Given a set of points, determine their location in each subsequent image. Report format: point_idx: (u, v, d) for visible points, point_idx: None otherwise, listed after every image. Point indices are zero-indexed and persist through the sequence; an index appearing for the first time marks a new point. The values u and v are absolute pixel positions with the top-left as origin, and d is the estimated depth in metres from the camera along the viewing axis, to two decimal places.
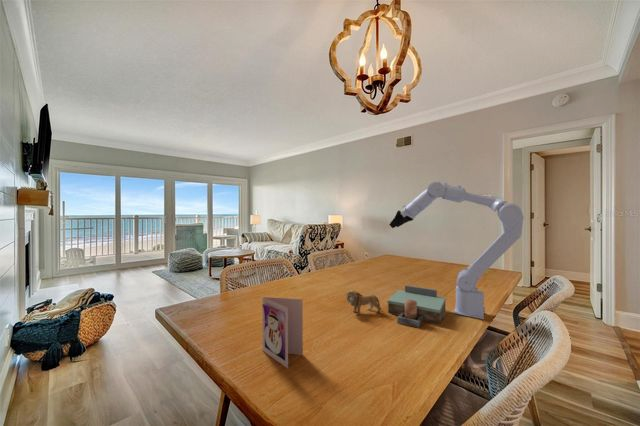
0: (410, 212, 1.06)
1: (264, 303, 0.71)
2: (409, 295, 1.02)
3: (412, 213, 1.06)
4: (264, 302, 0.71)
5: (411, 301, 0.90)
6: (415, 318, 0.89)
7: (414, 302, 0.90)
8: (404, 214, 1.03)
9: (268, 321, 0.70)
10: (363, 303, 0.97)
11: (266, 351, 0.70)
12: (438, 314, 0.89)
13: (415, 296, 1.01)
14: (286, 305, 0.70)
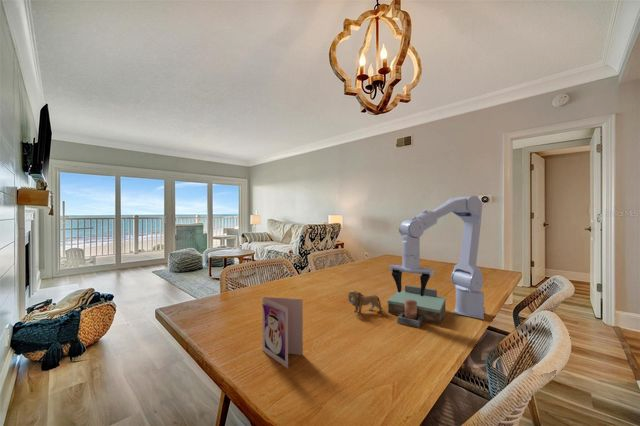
0: (419, 266, 0.89)
1: (264, 303, 0.71)
2: (409, 295, 1.02)
3: None
4: (264, 302, 0.71)
5: (411, 301, 0.91)
6: (415, 318, 0.89)
7: (414, 302, 0.90)
8: (433, 272, 0.87)
9: (268, 321, 0.70)
10: (364, 303, 0.97)
11: (266, 351, 0.70)
12: (438, 314, 0.89)
13: (415, 296, 1.01)
14: (286, 305, 0.70)
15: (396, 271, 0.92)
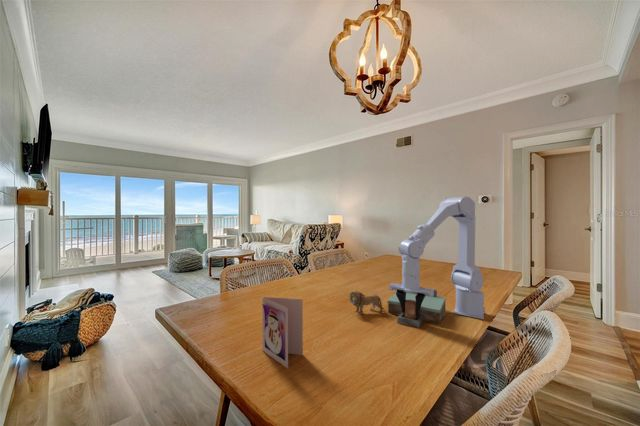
0: (419, 286, 0.89)
1: (264, 303, 0.71)
2: (409, 295, 1.02)
3: None
4: (264, 302, 0.71)
5: (411, 301, 0.90)
6: (415, 318, 0.89)
7: (414, 302, 0.90)
8: (433, 293, 0.87)
9: (268, 321, 0.70)
10: (365, 303, 0.97)
11: (266, 351, 0.70)
12: (438, 314, 0.89)
13: None
14: (286, 305, 0.70)
15: None
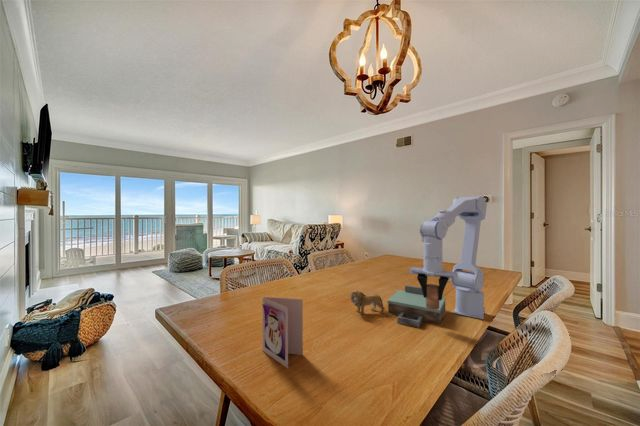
0: None
1: (264, 303, 0.71)
2: (409, 295, 1.02)
3: None
4: (264, 302, 0.71)
5: (433, 285, 0.86)
6: (438, 303, 0.84)
7: (436, 286, 0.85)
8: (457, 276, 0.82)
9: (268, 321, 0.70)
10: (367, 303, 0.97)
11: (266, 351, 0.70)
12: (438, 314, 0.89)
13: (415, 296, 1.01)
14: (286, 305, 0.70)
15: None
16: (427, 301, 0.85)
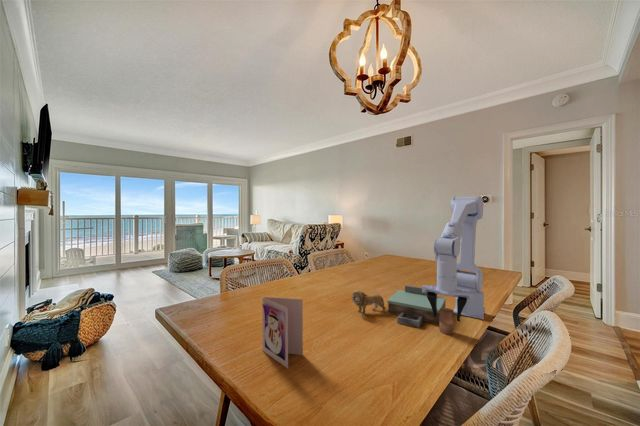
0: (456, 288, 0.82)
1: (264, 303, 0.71)
2: (409, 295, 1.02)
3: None
4: (264, 302, 0.71)
5: (447, 309, 0.83)
6: (452, 328, 0.81)
7: (450, 311, 0.82)
8: (473, 296, 0.79)
9: (268, 321, 0.70)
10: (368, 303, 0.97)
11: (266, 351, 0.70)
12: (438, 314, 0.89)
13: (415, 296, 1.01)
14: (286, 305, 0.70)
15: (430, 293, 0.84)
16: (441, 326, 0.82)
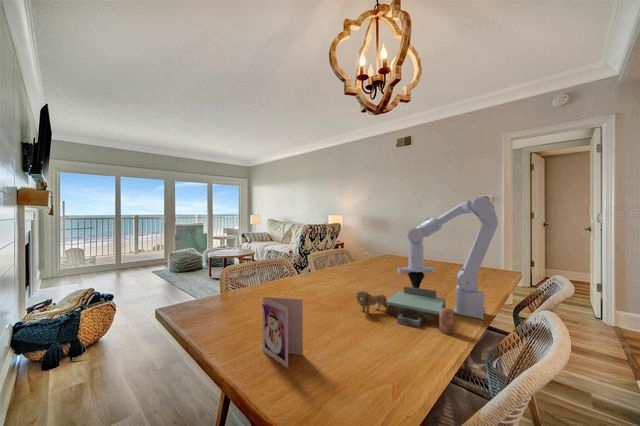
0: None
1: (264, 303, 0.71)
2: (408, 296, 1.01)
3: None
4: (264, 302, 0.71)
5: (447, 309, 0.83)
6: (452, 328, 0.81)
7: (450, 311, 0.82)
8: None
9: (268, 321, 0.70)
10: (372, 303, 0.98)
11: (266, 351, 0.70)
12: None
13: (414, 297, 1.00)
14: (286, 305, 0.70)
15: None
16: (441, 326, 0.82)
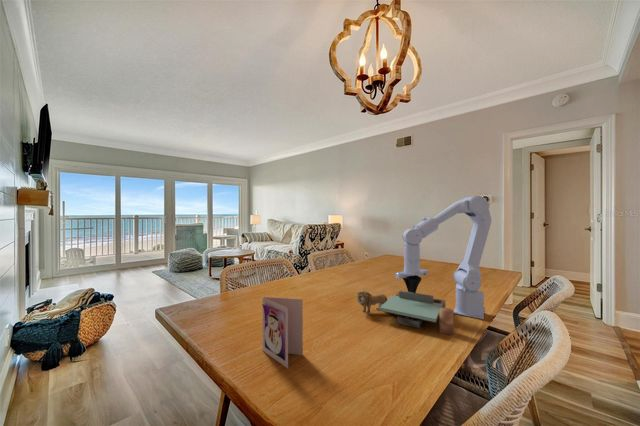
0: None
1: (264, 303, 0.71)
2: (403, 301, 0.95)
3: None
4: (264, 302, 0.71)
5: (447, 309, 0.83)
6: (452, 328, 0.81)
7: (450, 311, 0.82)
8: None
9: (268, 321, 0.70)
10: (373, 303, 0.98)
11: (266, 351, 0.70)
12: None
13: (410, 302, 0.94)
14: (286, 305, 0.70)
15: (403, 278, 0.97)
16: (441, 326, 0.82)
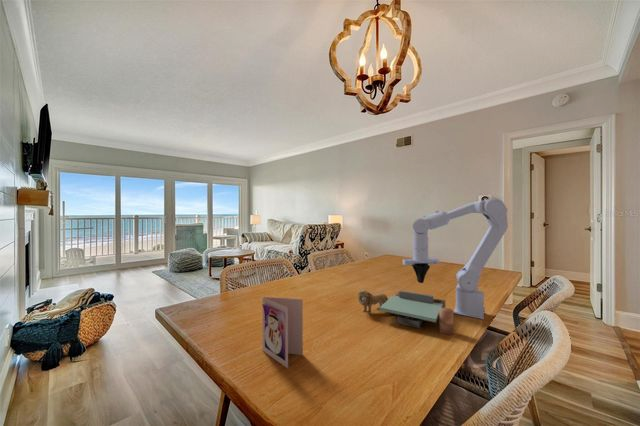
0: None
1: (264, 303, 0.71)
2: (403, 301, 0.95)
3: None
4: (264, 302, 0.71)
5: (447, 309, 0.83)
6: (452, 328, 0.81)
7: (450, 311, 0.82)
8: None
9: (268, 321, 0.70)
10: (374, 302, 0.98)
11: (266, 351, 0.70)
12: None
13: (410, 302, 0.94)
14: (286, 305, 0.70)
15: (410, 264, 1.02)
16: (441, 326, 0.82)
